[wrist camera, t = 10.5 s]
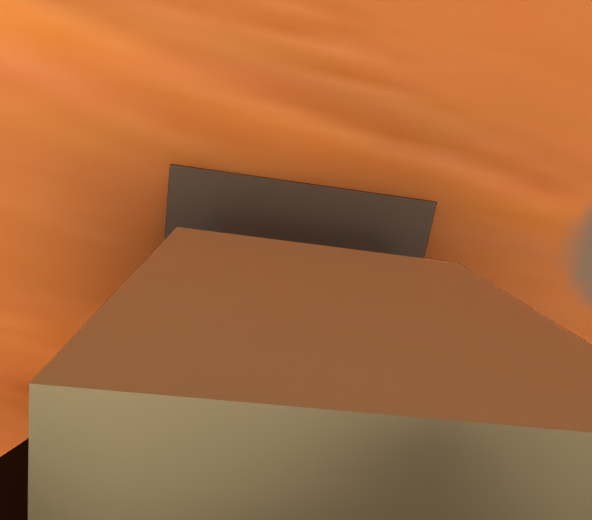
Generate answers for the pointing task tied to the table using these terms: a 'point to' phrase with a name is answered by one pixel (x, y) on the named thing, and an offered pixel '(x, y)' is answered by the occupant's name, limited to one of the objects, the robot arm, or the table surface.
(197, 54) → the table surface
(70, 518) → the beige cuboid
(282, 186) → the thin dark grey panel
